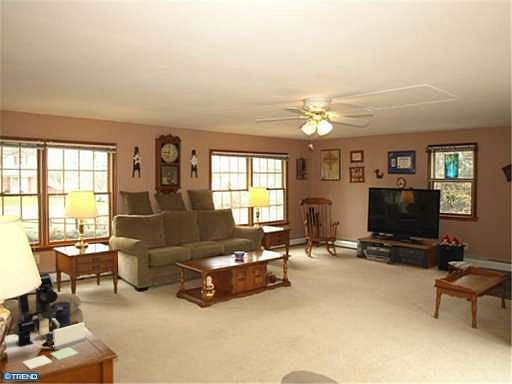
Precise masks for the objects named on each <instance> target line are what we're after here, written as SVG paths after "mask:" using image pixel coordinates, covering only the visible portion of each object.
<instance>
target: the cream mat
mask: <svg viewBox="0 0 512 384" xmlns="http://www.w3.org/2000/svg"><path fill="white" fill-rule="evenodd" d="M21 363H22V364H23V365H24V366H25V367H27V368H28V369H29V370H33V369H35V368H39V367H42V366H45V365H48V364H51V363H53V361H52V360H51V359H50V358H48V357H47V356H46V355H45V354H44V355H40V356H36V357H33V358H29V359H27V360H24V361H21Z"/></svg>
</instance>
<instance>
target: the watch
mask: <svg viewBox="0 0 512 384" xmlns="http://www.w3.org/2000/svg"><path fill="white" fill-rule="evenodd" d="M52 320H53V322H54V323H55V325H56V326H57V328H56V329H59V325H60V324H59V322H58V321H57V320H56V319H55V318H54V319H53V318H52ZM52 320H51V321H52ZM56 329H55V330H56ZM52 336H53V331H52V330H49V333H47V334H45V338H46V340H48V339H49V338H51V337H52Z"/></svg>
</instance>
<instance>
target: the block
mask: <svg viewBox="0 0 512 384" xmlns="http://www.w3.org/2000/svg"><path fill="white" fill-rule="evenodd" d="M37 318H38V317H37ZM38 319H39V321H38V322H39V331H37V330H36V333H37V334H38V335H39V336H43V335H46V334H47V333H49V331H50V325H49V319H47V318H43V317H39V318H38Z"/></svg>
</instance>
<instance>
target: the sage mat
mask: <svg viewBox="0 0 512 384" xmlns="http://www.w3.org/2000/svg"><path fill="white" fill-rule="evenodd" d="M49 354H50V355H51V356H52V357H54V358H55V359H57V360H58V361H61V360H64V359H65V358H69V357H72V356H76V355H79V351H76V350H74V349H73V348H71V347H70V346H68V347H65V348H62V349H58V350H57V351H53V352H50V353H49Z"/></svg>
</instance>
